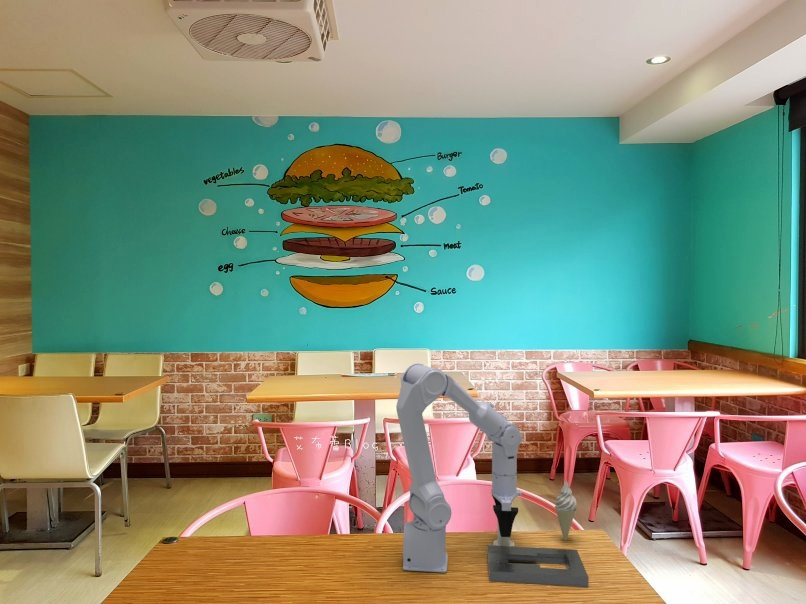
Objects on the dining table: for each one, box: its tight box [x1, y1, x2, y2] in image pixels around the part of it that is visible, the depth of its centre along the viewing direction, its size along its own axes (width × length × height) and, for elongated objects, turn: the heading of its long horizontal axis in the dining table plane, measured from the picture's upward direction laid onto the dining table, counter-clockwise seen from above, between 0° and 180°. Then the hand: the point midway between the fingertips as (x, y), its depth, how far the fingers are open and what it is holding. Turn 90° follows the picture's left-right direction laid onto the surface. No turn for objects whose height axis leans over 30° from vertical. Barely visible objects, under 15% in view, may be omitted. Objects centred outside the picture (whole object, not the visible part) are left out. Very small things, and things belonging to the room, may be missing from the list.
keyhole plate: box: [486, 544, 589, 588], centre depth 121 cm, size 20×12×2 cm, turn 83°
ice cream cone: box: [554, 479, 577, 542], centre depth 135 cm, size 5×5×15 cm
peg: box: [492, 523, 515, 546], centre depth 131 cm, size 5×5×8 cm
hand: (504, 529), depth 131 cm, fingers open, 7 cm apart
